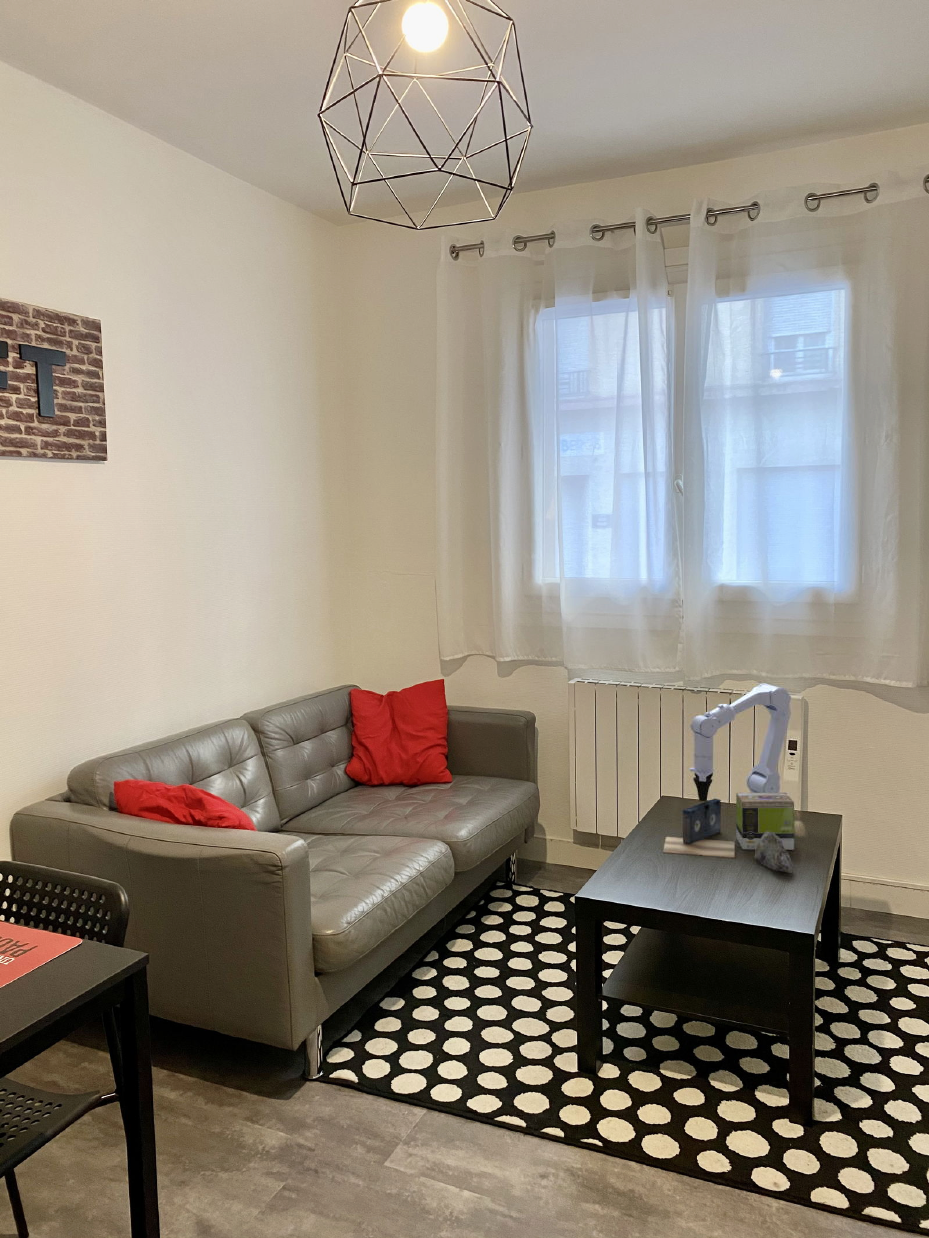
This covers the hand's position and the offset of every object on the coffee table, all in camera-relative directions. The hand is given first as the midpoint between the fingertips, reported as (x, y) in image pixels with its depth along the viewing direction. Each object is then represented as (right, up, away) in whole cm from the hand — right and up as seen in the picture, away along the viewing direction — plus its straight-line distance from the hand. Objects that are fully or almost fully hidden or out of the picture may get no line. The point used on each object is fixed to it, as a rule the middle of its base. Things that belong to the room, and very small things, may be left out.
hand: (703, 798), depth 301 cm
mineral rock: (+12, -14, -31) cm, 36 cm away
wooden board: (-5, -12, -14) cm, 19 cm away
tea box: (+15, -12, -12) cm, 23 cm away
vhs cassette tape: (-2, -11, -5) cm, 12 cm away
